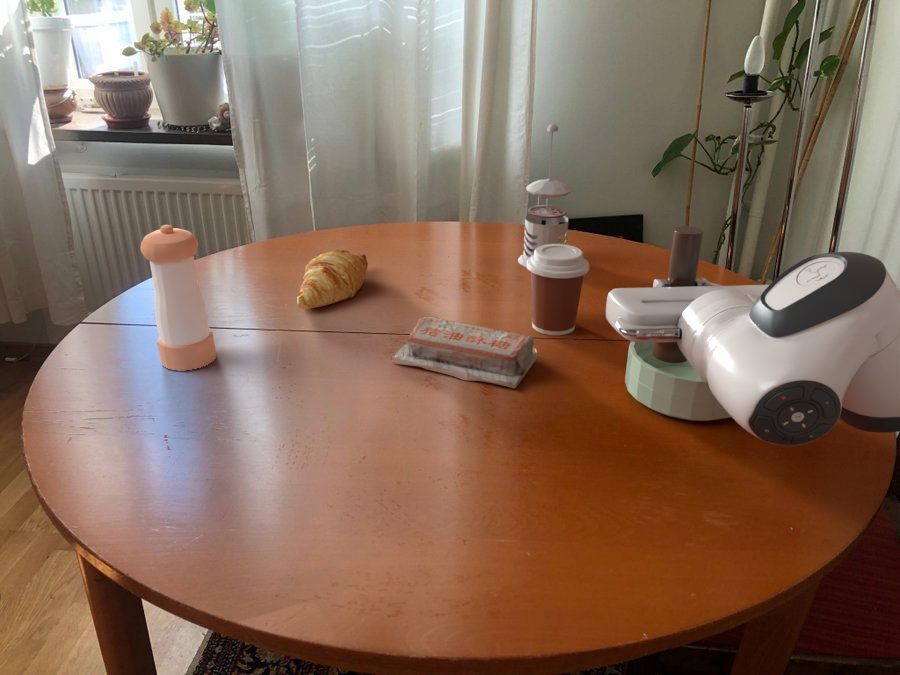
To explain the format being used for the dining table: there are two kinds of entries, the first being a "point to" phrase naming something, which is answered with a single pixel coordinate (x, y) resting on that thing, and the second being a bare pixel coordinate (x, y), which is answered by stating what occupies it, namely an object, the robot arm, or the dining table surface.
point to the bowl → (670, 386)
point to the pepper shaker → (178, 300)
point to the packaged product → (468, 351)
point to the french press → (545, 214)
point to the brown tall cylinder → (681, 279)
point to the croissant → (331, 278)
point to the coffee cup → (556, 287)
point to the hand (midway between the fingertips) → (678, 284)
